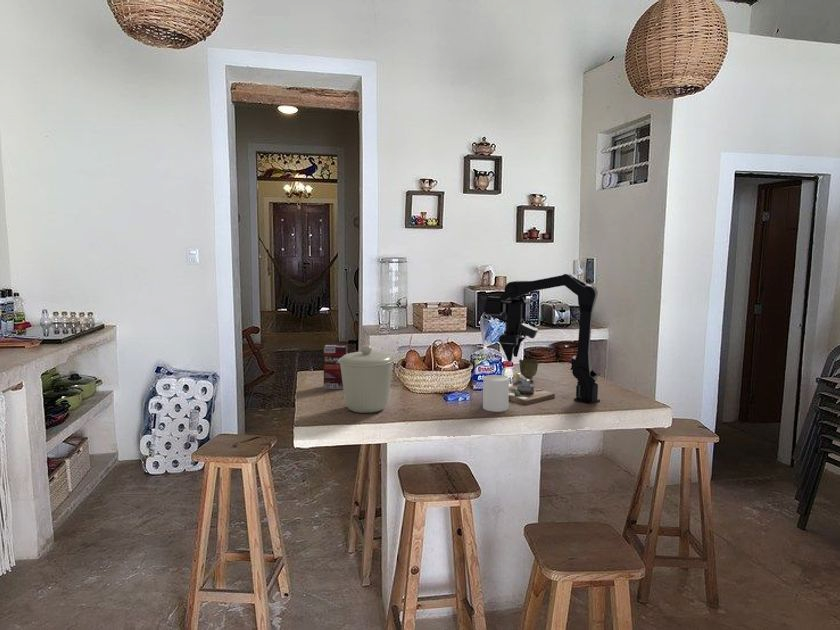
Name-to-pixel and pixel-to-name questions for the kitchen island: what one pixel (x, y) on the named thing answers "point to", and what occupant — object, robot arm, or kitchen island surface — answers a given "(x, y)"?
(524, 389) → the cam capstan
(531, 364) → the cup
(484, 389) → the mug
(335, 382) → the supplement box
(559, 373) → the kitchen island surface
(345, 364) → the canister
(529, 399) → the stand
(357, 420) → the kitchen island surface
